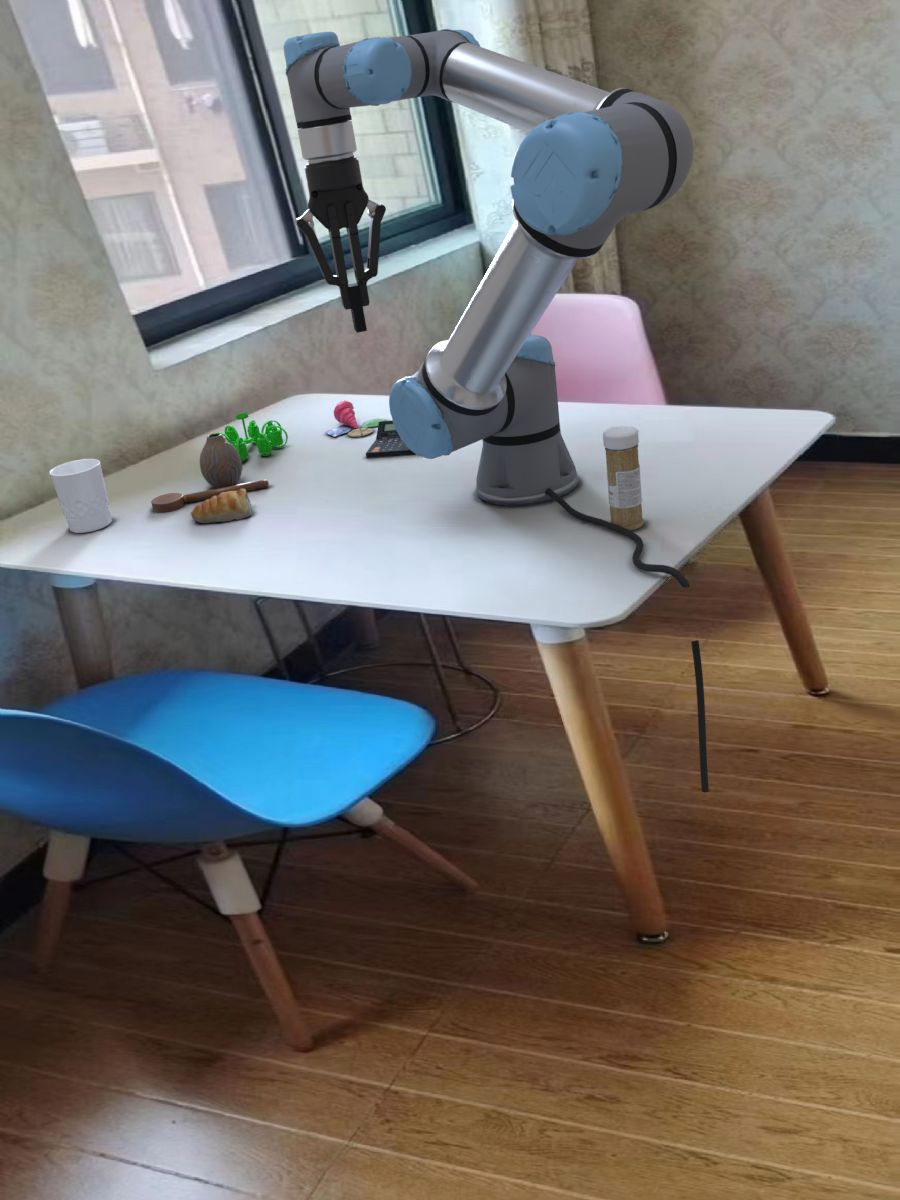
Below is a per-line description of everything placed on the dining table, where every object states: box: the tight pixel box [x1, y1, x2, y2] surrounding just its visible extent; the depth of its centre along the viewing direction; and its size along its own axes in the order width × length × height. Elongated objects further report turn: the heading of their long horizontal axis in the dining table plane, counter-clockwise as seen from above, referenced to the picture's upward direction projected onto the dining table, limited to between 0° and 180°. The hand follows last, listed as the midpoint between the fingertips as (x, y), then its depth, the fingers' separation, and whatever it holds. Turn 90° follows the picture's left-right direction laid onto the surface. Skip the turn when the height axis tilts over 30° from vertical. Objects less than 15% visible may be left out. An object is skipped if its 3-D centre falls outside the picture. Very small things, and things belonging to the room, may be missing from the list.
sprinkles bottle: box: [602, 425, 645, 531], centre depth 152 cm, size 5×5×14 cm
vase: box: [199, 432, 243, 489], centre depth 194 cm, size 7×7×9 cm
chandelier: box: [215, 412, 289, 463], centre depth 210 cm, size 15×15×7 cm
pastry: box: [190, 488, 252, 524], centre depth 180 cm, size 9×7×4 cm
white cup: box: [48, 458, 113, 534], centre depth 184 cm, size 8×8×10 cm
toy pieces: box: [326, 400, 387, 438], centre depth 215 cm, size 12×11×4 cm
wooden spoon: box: [150, 479, 270, 513], centre depth 190 cm, size 19×5×1 cm, turn 103°
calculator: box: [365, 420, 416, 459], centre depth 202 cm, size 9×12×3 cm
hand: (360, 330), depth 167 cm, fingers closed
